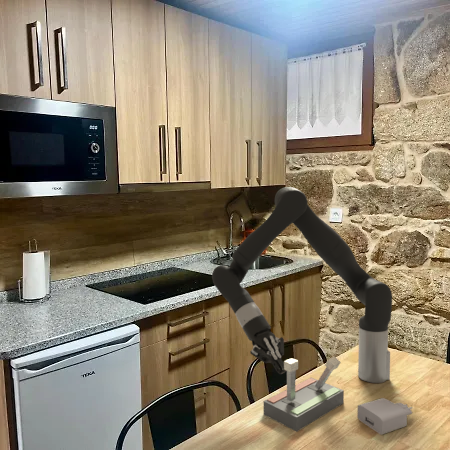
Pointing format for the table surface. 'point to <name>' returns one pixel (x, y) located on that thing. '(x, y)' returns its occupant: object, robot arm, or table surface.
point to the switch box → (303, 404)
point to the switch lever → (291, 377)
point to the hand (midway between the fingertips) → (283, 372)
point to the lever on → (327, 371)
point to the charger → (383, 415)
